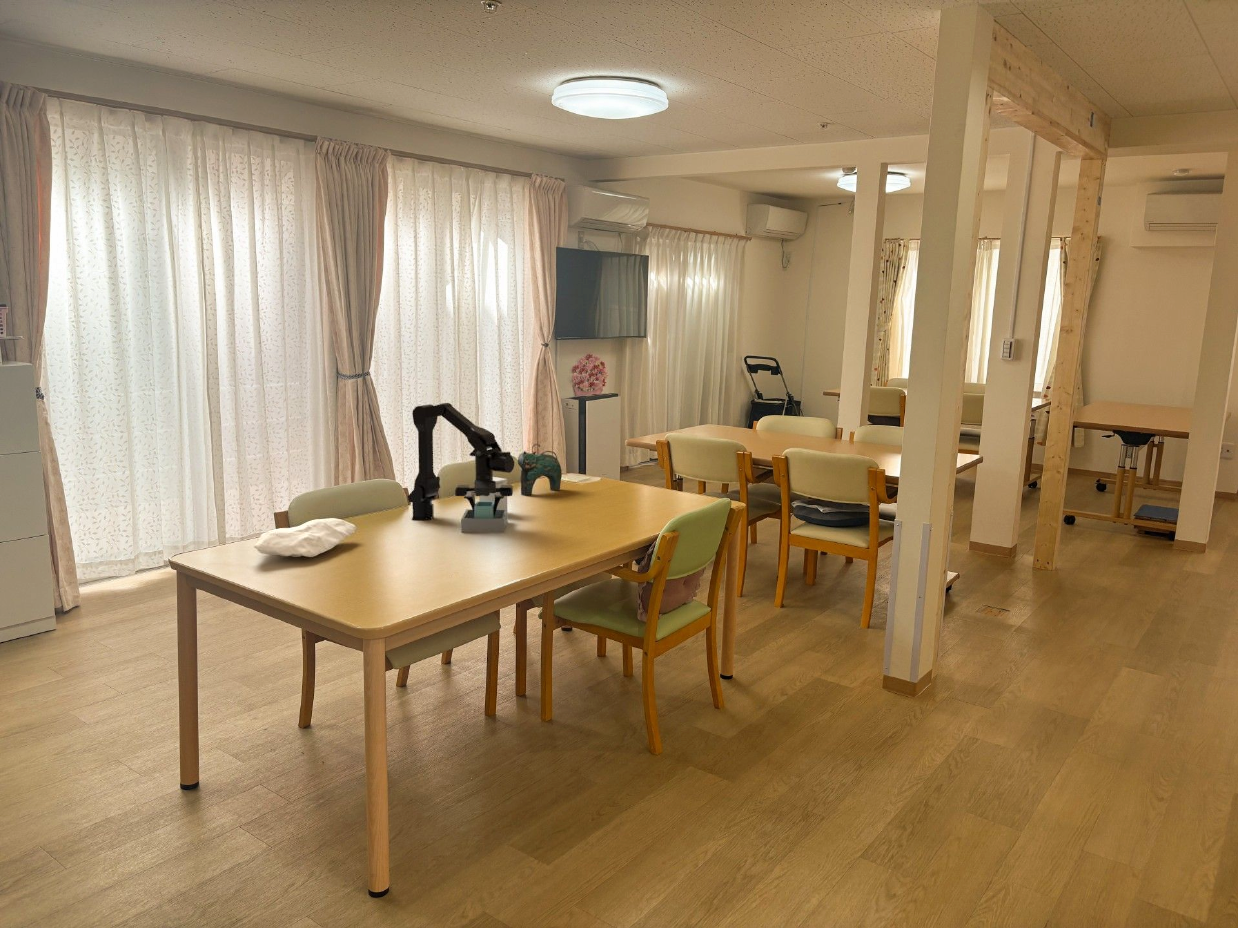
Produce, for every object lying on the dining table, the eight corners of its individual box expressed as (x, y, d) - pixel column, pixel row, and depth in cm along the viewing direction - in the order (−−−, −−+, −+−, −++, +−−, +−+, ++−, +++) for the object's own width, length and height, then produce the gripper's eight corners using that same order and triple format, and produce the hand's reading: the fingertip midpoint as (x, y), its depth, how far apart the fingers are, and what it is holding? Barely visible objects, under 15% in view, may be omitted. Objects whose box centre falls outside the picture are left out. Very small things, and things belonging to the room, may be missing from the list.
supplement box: (493, 516, 311) (493, 481, 309) (478, 513, 315) (478, 479, 313) (508, 513, 317) (507, 478, 314) (493, 510, 321) (493, 476, 319)
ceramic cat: (524, 497, 343) (523, 446, 340) (514, 494, 348) (513, 444, 344) (564, 490, 356) (564, 441, 353) (554, 488, 361) (554, 439, 357)
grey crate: (461, 532, 289) (461, 519, 288) (466, 522, 303) (466, 509, 302) (504, 532, 290) (504, 519, 289) (507, 522, 303) (507, 509, 303)
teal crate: (474, 521, 292) (474, 506, 291) (477, 515, 299) (476, 501, 298) (492, 521, 292) (492, 506, 291) (494, 515, 300) (494, 501, 299)
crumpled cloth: (225, 554, 255) (225, 525, 253) (320, 528, 285) (322, 502, 283) (279, 579, 245) (281, 549, 242) (373, 549, 274) (375, 522, 272)
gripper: (452, 474, 284) (453, 521, 287) (510, 474, 285) (510, 521, 288) (457, 468, 295) (457, 513, 298) (512, 468, 296) (513, 513, 299)
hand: (484, 515), depth 295 cm, fingers closed on teal crate, 6 cm apart
